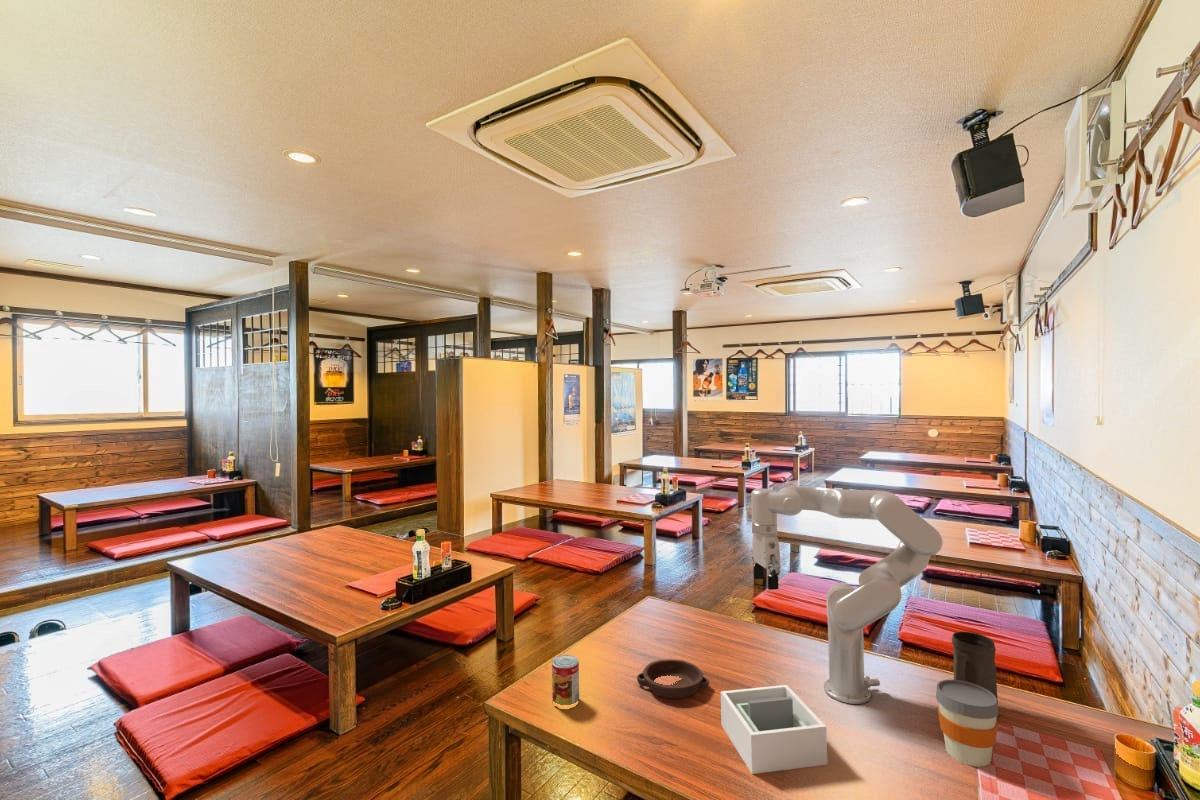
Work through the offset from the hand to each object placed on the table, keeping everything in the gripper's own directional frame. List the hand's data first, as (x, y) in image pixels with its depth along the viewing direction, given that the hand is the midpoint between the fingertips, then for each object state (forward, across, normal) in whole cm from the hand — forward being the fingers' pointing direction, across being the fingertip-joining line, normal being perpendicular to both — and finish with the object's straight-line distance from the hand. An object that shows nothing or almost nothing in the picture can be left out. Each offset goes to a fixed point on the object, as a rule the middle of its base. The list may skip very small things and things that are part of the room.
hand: (765, 583), depth 162 cm
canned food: (+31, 0, +63) cm, 70 cm away
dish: (+31, +2, +30) cm, 43 cm away
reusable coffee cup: (+31, -40, -32) cm, 60 cm away
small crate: (+29, -28, +13) cm, 42 cm away
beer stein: (+31, -25, -48) cm, 62 cm away
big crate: (+30, -28, +13) cm, 43 cm away
